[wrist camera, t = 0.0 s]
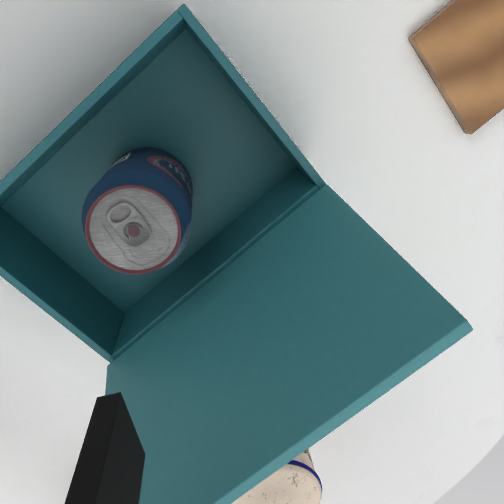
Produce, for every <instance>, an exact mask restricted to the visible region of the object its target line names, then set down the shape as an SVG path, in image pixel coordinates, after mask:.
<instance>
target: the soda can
mask: <svg viewBox="0 0 504 504" xmlns="http://www.w3.org/2000/svg"><path fill="white" fill-rule="evenodd" d="M192 195H193V188H192V181H191V178H190V175H189V173H188V171H187V169H186V168H185V166H184V165H183V164H182V163H181V162H180V161H179V160H178V159H177V158H176V157H175V156H173V155H172V154H170V153H168V152H166V151H164V150H161V149H157V148H150V147H145V148H138V149H134V150H131V151H129V152H127V153H125V154H124V155H122V156H121V157H120V158H119V159H118V160H117V161H116V162H115V163H114V164H113V165H112V167H111V168H110V169H109V170H108V171H107V172H106V173H105V174H104V175H103V177H102V178H101V179H100V180H99V181H98V182H97V183H96V184H95V186H94V187H93V188H92V189H91V190H90V192H89V193H88V195H87V197H86V199H85V201H84V204H83V208H82V216H81V220H82V228H83V232H84V235H85V238H86V240H87V242H88V245H89V247H90V249H91V250H92V252H93V253H94V255H95V256H96V257H97V258H98V259H99V260H100V261H101V262H102V263H103V264H105V265H106V266H108V267H109V268H111V269H113V270H116V271H118V272H121V273H125V274H134V275H138V274H146V273H150V272H153V271H156V270H158V269H160V268H162V267H164V266H166V265H168V264H169V263H171V262H172V261H173V260H175V259H176V258H177V257H178V256H179V255H180V253H181V252H182V251H183V249H184V248H185V246H186V244H187V242H188V240H189V236H190V232H191V218H192Z"/></svg>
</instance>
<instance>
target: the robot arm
mask: <svg viewBox="0 0 504 504" xmlns="http://www.w3.org/2000/svg"><path fill="white" fill-rule="evenodd" d="M145 455H146V454H145V452H144V449H143V447H142V444H141V442H140V439H139V437H138V434H137V432H136V429H135V427H134V424H133V421H132V419H131V416H130V414H129V411H128V409H127V406H126V404H125V401H124V399H123V396H122V394H121V392H118V393H114V394H109V395H105V396H101V397H97V400H96V403H95V406H94V409H93V413H92V416H91V419H90V423H89V426H88V429H87V432H86V436H85V439H84V442H83V445H82V449H81V452H80V455H79V459H78V462H77V465H76V468H75V472H74V475H73V478H72V481H71V485H70V488H69V491H68V494H67V498H66V501H65V504H139V500H140V492H141V485H142V477H143V470H144V462H145Z"/></svg>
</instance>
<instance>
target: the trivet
mask: <svg viewBox="0 0 504 504" xmlns="http://www.w3.org/2000/svg"><path fill="white" fill-rule="evenodd" d="M409 41H410V42H411V44H412V46H413V47H414V49H415V51H416V52H417V54H418V56H419V57H420V59H421V61H422V62H423V64H424V66H425V67H426V69H427V71H428V72H429V74H430V76H431V77H432V79H433V81H434V82H435V84H436V86H437V87H438V89H439V91H440V92H441V94H442V96H443V97H444V99H445V100H446V102H447V104H448V105H449V107H450V109H451V110H452V112H453V114H454V115H455V117H456V119H457V120H458V122H459V124H460V125H461V127H462V129H463V130H464V132H465V133H467V134H472V133H474V132H475V131H476V130H477V129H479V128H480V127H481V126H482V125H484V124H485V123H486V122H487V121H489V120H490V119H491V118H492V117H494V116H495V115H496V114H497V113H499V112H500V111H501V110H502V109H504V0H453V1H451V2H450V3H449V4H448V5H447V6H446V7H445V8H443V9H442V10H441V11H440V12H439V13H438V14H436V15H435V16H434V17H433V18H432V19H431V20H429V21H428V22H427V23H426V24H425V25H424V26H422V27H421V28H420V29H419V30H418V31H417V32H416V33H414V34H413V35H412V36H411V37H410V38H409Z"/></svg>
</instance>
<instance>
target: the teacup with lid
mask: <svg viewBox="0 0 504 504" xmlns="http://www.w3.org/2000/svg"><path fill="white" fill-rule="evenodd" d="M321 497H322V485H321V481H320V479H319V477H318V475H317V474H316V472H315V470H314V466H313V463H312V460H311V456H310V453H309V449H307V450H305V451H304V452H302V453H301V454H300V455H298V456H297V457H295V458H294V459H293V460H291V461H290V462H288V463H287V464H286V465H284V466H283V467H281V468H280V469H279V470H277V471H276V472H275V473H273V474H272V475H270V476H269V477H268V478H266V479H265V480H263V481H262V482H261V483H259V484H258V485H256V486H255V487H254V488H252V489H251V490H249V491H248V492H247V493H245V494H244V495H242V496H241V497H240V498H238V499H237V500H235V501H234V502H233V503H231V504H320V501H321Z"/></svg>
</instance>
